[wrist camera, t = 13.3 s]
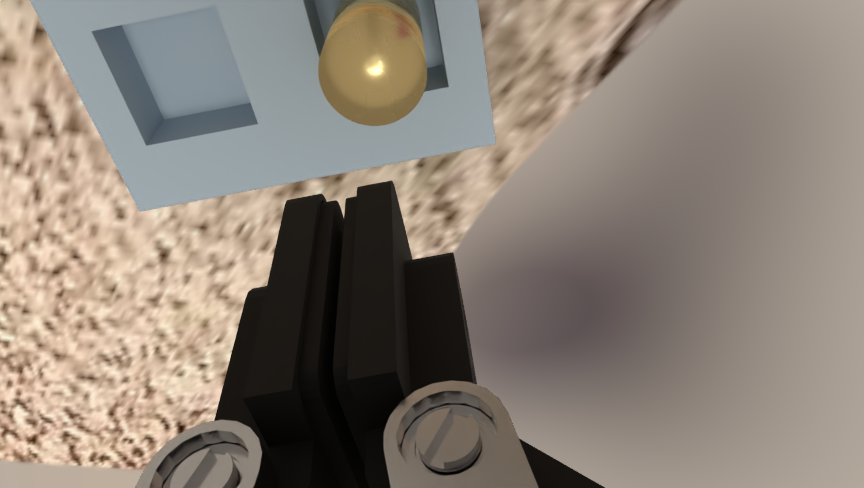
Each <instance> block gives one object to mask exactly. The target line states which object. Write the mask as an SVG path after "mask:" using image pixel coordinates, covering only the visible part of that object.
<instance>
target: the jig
mask: <svg viewBox="0 0 864 488" xmlns="http://www.w3.org/2000/svg"><path fill="white" fill-rule="evenodd" d="M30 1H31V3H32V5H33V7H34V9H35V11H36V13H37V15H38V17H39V19H40V21H41V23H42V24H43V26H44V28H45V30H46V32H47V34H48V36H49V38H50V40H51V42H52V44H53V46H54V47H55V49H56V51H57V53H58V55H59V57H60V59H61V61H62V63H63V65H64V67H65V69H66V71H67V72H68V74H69V76H70V78H71V80H72V82H73V84H74V86H75V88H76V90H77V92H78V94H79V96H80V97H81V99H82V101H83V103H84V105H85V107H86V109H87V111H88V113H89V115H90V117H91V119H92V121H93V122H94V124H95V126H96V128H97V130H98V132H99V134H100V136H101V138H102V140H103V142H104V144H105V146H106V147H107V149H108V151H109V153H110V155H111V157H112V159H113V161H114V163H115V165H116V167H117V169H118V171H119V172H120V174H121V176H122V178H123V180H124V182H125V184H126V186H127V188H128V190H129V192H130V194H131V196H132V197H133V199H134V201H135V203H136V205H137V207H138V209H139V211H146V210H151V209H156V208H161V207H167V206H172V205H177V204H182V203H188V202H193V201H198V200H203V199H209V198H214V197H219V196H224V195H230V194H235V193H240V192H246V191H251V190H256V189H261V188H267V187H272V186H277V185H282V184H288V183H293V182H298V181H303V180H309V179H314V178H319V177H324V176H330V175H335V174H340V173H345V172H351V171H356V170H361V169H367V168H372V167H377V166H382V165H388V164H393V163H398V162H403V161H409V160H414V159H419V158H424V157H430V156H435V155H440V154H445V153H451V152H456V151H461V150H466V149H472V148H477V147H482V146H488V145H493V144H496V140H495V132H494V125H493V117H492V109H491V102H490V94H489V86H488V79H487V71H486V63H485V56H484V48H483V40H482V33H481V25H480V17H479V10H478V2H477V0H415V1H416V3H417V5H418V8H419V12H420V18H421V26H422V34H423V42H424V50H425V58H426V66H427V82H426V87H425V91H424V93H423V96H422V98H421V100H420V101H419V103H418V104H417V106H416V107H415V108H414V109H413V110H412V111H411V112H410V113H409V114H408V115H406V116H405V117H404V118H402V119H400V120H398V121H396V122H394V123H391V124H387V125H381V126H368V125H362V124H358V123H355V122H353V121H350V120H348V119H347V118H345V117H343V116H342V115H340V114H339V113H338V112H337V111H336V110H335V109H334V108H333V107H332V106H331V105H330V104H329V102H328V101H327V99H326V98H325V96H324V94H323V92H322V89H321V86H320V82H319V76H318V64H319V58H320V55H321V52H322V49H323V46H324V44H325V41H326V38H327V35H328V32H329V29H330V27H331V24H332V21H333V18H334V15H335V13H336V10H337V7H338V4H339V2H340V0H30Z"/></svg>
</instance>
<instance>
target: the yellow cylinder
mask: <svg viewBox="0 0 864 488" xmlns="http://www.w3.org/2000/svg"><path fill="white" fill-rule="evenodd" d="M318 76H319V82H320V86H321V89H322V92H323V94H324V96H325V98H326V99H327V101H328V102H329V104H330V105H331V106H332V107H333V108H334V109H335V110H336V111H337V112H338V113H339V114H340V115H342V116H343V117H345V118H347V119H348V120H350V121H353V122H355V123H358V124H362V125H368V126H381V125H387V124H391V123H394V122H396V121H398V120H400V119H402V118H404V117H405V116H406V115H408V114H409V113H410V112H411V111H412V110H413V109H414V108H415V107H416V106H417V104H418V103H419V101H420V100H421V98H422V96H423V93H424V91H425V87H426V82H427V66H426V58H425V50H424V42H423V34H422V26H421V18H420V12H419V8H418V5H417V3H416V1H415V0H340V2H339V4H338V7H337V10H336V13H335V15H334V18H333V21H332V24H331V27H330V29H329V32H328V35H327V38H326V41H325V44H324V46H323V49H322V52H321V55H320V58H319V64H318Z"/></svg>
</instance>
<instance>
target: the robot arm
mask: <svg viewBox="0 0 864 488" xmlns="http://www.w3.org/2000/svg"><path fill="white" fill-rule="evenodd" d="M135 488H605V487H603V486H601V485H599V484H597V483H596V482H594V481H592V480H591V479H589V478H587V477H585V476H583V475H582V474H580V473H578V472H576V471H575V470H573V469H571V468H570V467H568V466H566V465H564V464H562V463H561V462H559V461H557V460H556V459H554V458H552V457H550V456H549V455H547V454H545V453H543V452H542V451H540V450H538V449H536V448H535V447H533V446H531V445H529V444H528V443H526V442H524V441H522V440H521V439H519V438H518V435H517V433H516V431H515V428H514V426H513V423H512V421H511V418H510V416H509V413H508V411H507V410H506V408H505V407H504V406H503V404H502V402H501V400H500V399H499V398H498V397H497V396H495V395H494V394H493V393H492V392H490V391H489V390H488V389H486V388H484V387H481V386H479V385H477V382H476V376H475V370H474V363H473V357H472V351H471V345H470V339H469V333H468V328H467V321H466V316H465V310H464V305H463V300H462V294H461V289H460V284H459V279H458V274H457V268H456V263H455V258H454V254H453V253H447V254H442V255H436V256H431V257H425V258H420V259H414V260H412V256H411V252H410V248H409V243H408V239H407V235H406V231H405V227H404V223H403V219H402V215H401V211H400V207H399V203H398V199H397V194H396V191H395V187H394V184H393V182H392V181H387V182H382V183H377V184H371V185H366V186H361V187H358V188H357V197H351V198H347V199H346V203H345V216H344V218H343V215H342V211H341V208H340V205H339V203H338V201H336V200H335V201H330V202H326V199H325V197H324V196H323V195H322V194H318V195H313V196H307V197H302V198H297V199H291V200H287V201H286V204H285V208H284V212H283V217H282V221H281V226H280V230H279V235H278V239H277V244H276V248H275V253H274V257H273V262H272V267H271V271H270V276H269V280H268V285H267V286H265V287H259V288H254V289H252V290H250V291H249V292H248V295H247V297H246V300H245V304H244V308H243V311H242V315H241V319H240V323H239V327H238V331H237V335H236V339H235V343H234V347H233V350H232V354H231V358H230V362H229V366H228V370H227V374H226V378H225V382H224V385H223V389H222V393H221V397H220V401H219V405H218V409H217V413H216V417H215V421H211V422H206V423H202V424H200V425H197V426H195V427H192V428H190V429H188V430H185V431H184V432H182V433H181V434H179V435H178V436H176V437H175V438H173V439H172V440H170V441H169V442H167V443H166V444H165V445H164V446H163V447H162V448H161V449H160V450H159V451H158V452H157V453H156V454H155V455H154V456H153V458H152V459H151V461H150V462H149V464H148V465H147V467H146V468H145V470H144V471H143V473H142V475H141V477H140V479H139V481H138V483H137V485H136V487H135Z"/></svg>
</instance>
